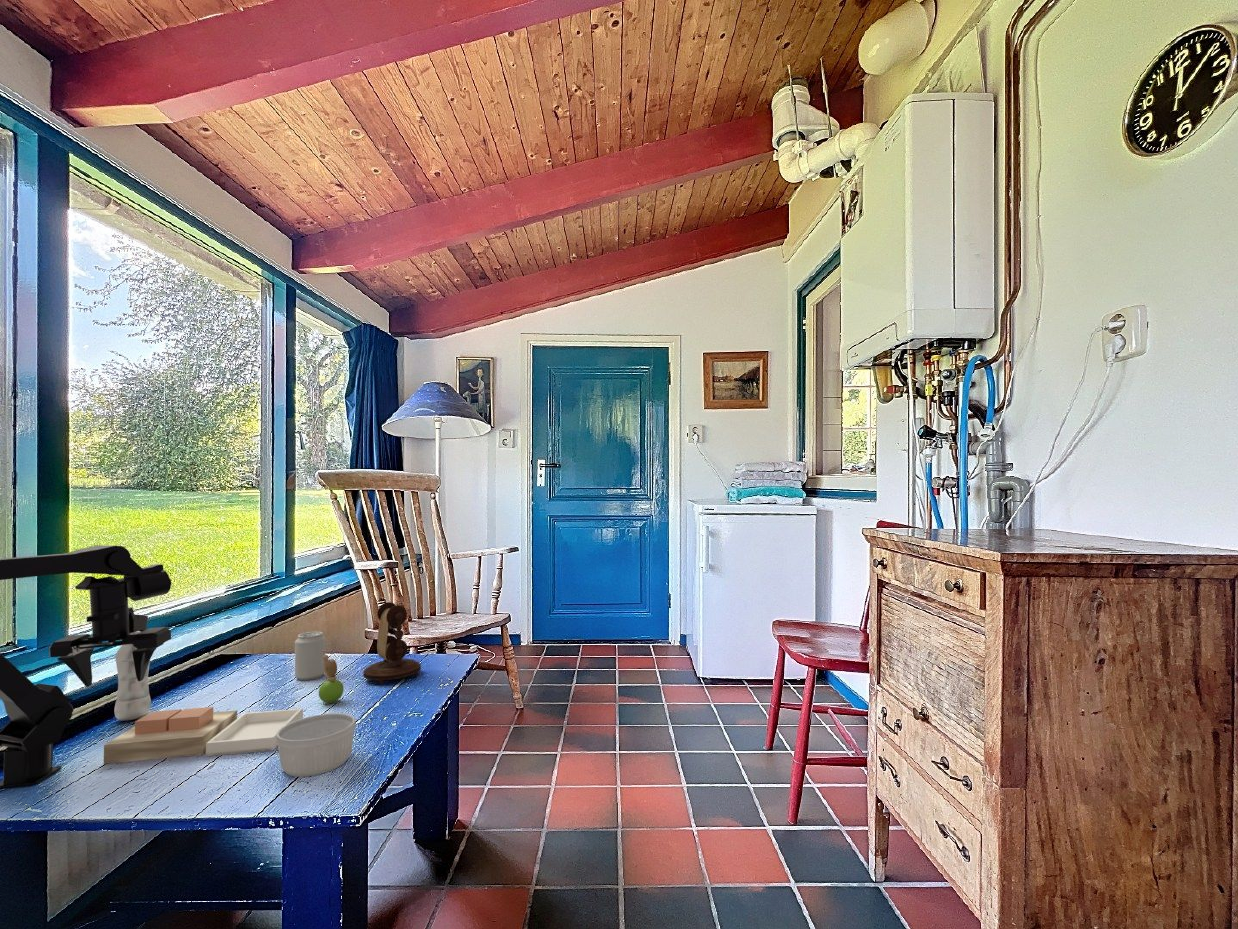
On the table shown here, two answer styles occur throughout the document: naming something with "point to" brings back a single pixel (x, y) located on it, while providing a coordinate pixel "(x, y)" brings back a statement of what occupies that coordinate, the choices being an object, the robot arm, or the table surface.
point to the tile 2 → (191, 719)
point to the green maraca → (330, 682)
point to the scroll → (391, 647)
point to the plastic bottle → (130, 687)
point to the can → (309, 655)
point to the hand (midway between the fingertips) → (115, 683)
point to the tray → (252, 732)
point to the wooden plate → (165, 741)
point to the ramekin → (315, 744)
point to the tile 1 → (155, 722)
